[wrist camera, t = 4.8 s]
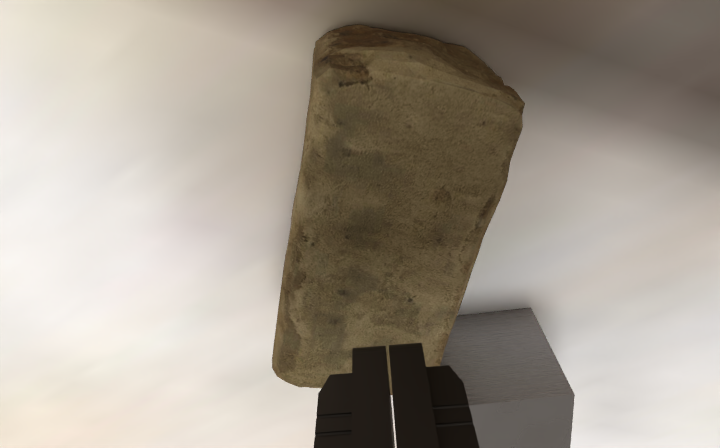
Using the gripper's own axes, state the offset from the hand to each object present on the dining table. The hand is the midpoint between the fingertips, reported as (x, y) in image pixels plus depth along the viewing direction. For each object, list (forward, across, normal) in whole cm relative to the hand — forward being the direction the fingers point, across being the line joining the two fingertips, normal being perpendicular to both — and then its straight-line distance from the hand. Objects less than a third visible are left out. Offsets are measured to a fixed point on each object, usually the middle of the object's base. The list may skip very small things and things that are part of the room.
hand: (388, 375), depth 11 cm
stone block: (+10, 0, 0) cm, 10 cm away
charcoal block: (+10, -4, +8) cm, 13 cm away
